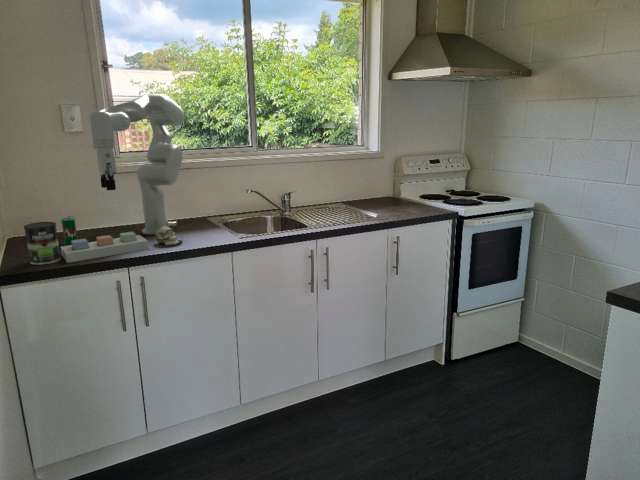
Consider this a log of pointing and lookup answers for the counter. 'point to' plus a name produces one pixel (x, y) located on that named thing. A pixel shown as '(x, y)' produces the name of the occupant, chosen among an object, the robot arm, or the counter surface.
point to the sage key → (128, 237)
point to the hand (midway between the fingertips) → (108, 188)
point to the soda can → (69, 229)
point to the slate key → (79, 244)
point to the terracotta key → (104, 240)
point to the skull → (166, 237)
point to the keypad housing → (103, 249)
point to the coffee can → (42, 243)
